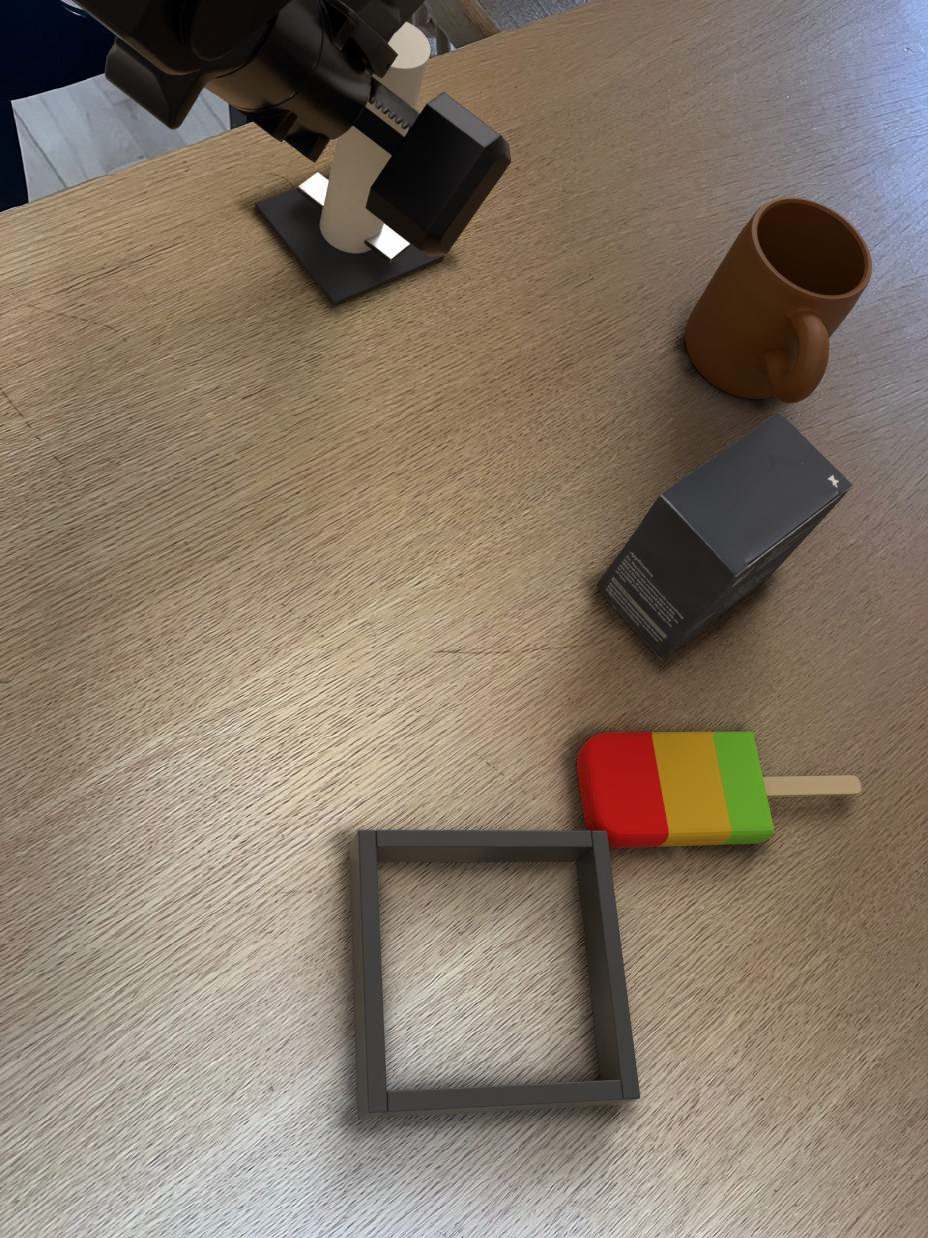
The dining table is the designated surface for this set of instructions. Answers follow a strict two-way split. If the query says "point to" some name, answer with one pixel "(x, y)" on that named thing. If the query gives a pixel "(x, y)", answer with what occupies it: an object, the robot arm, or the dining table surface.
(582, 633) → the dining table surface
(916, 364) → the dining table surface
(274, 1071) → the dining table surface
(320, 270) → the rubber mat
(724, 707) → the dining table surface
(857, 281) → the mug
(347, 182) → the white tall round cylinder
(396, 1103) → the grey picture frame
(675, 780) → the popsicle
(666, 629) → the box
